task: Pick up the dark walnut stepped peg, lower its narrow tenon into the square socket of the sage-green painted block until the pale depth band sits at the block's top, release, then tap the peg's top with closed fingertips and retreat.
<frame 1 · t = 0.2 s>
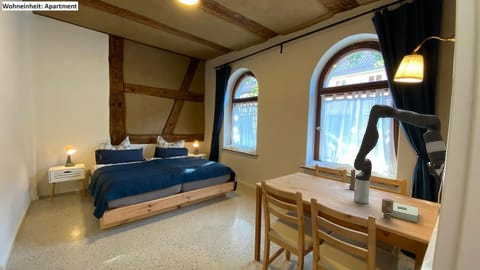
hand: (446, 182, 105), 31 cm above the table, tool tilted 20°, fingers open, 8 cm apart
peg: (386, 217, 135), on the table
wooden block: (355, 189, 192), on the table
socket block: (401, 214, 140), on the table
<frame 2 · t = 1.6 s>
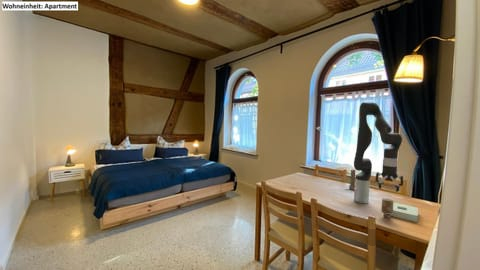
hand: (388, 190, 134), 18 cm above the table, tool pointing down, fingers open, 8 cm apart
nothing on the table moved.
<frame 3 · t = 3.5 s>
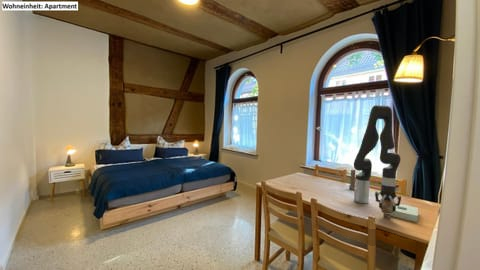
hand: (387, 209, 135), 5 cm above the table, tool pointing down, fingers closed on peg, 6 cm apart
peg: (386, 217, 135), on the table, touching gripper
everything else where it was.
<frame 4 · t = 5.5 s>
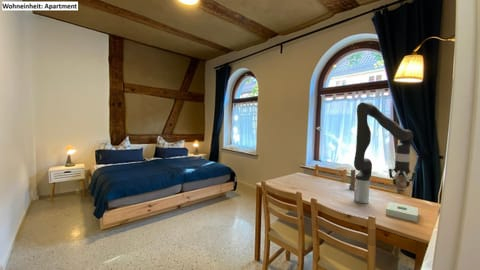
hand: (400, 185, 138), 20 cm above the table, tool pointing down, fingers closed on peg, 6 cm apart
peg: (400, 193, 138), point 14 cm above the table, touching gripper
everything else where it was.
when the fingers open (6 cm above the table, at t = 8.0 s): peg stays where it is, resting on socket block.
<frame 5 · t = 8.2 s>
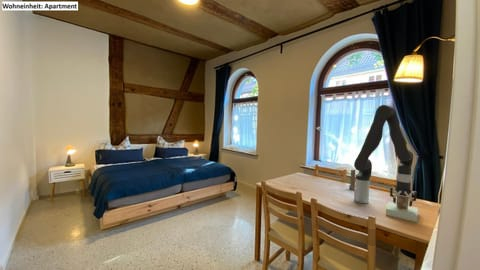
hand: (402, 204, 140), 6 cm above the table, tool pointing down, fingers open, 7 cm apart
peg: (401, 213, 140), resting on socket block
everything else where it was.
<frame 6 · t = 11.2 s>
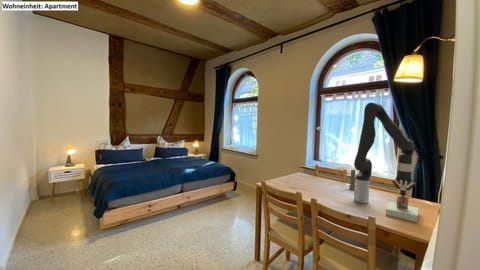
hand: (402, 195, 140), 13 cm above the table, tool pointing down, fingers closed
nothing on the table moved.
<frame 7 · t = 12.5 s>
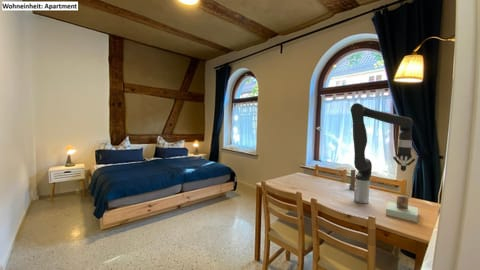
hand: (403, 170, 148), 27 cm above the table, tool pointing down, fingers closed
nothing on the table moved.
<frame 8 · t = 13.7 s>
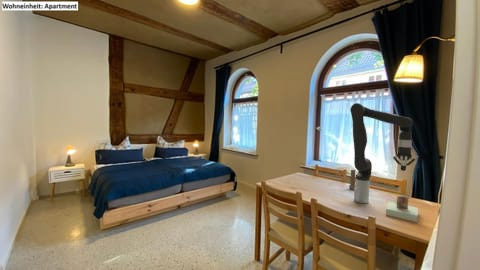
hand: (403, 170, 148), 27 cm above the table, tool pointing down, fingers closed
nothing on the table moved.
at the end: peg 0.0 cm off-centre on the socket block, point 0.5 cm above the socket block's base; peg tilted 0°; the gripper is holding nothing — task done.
